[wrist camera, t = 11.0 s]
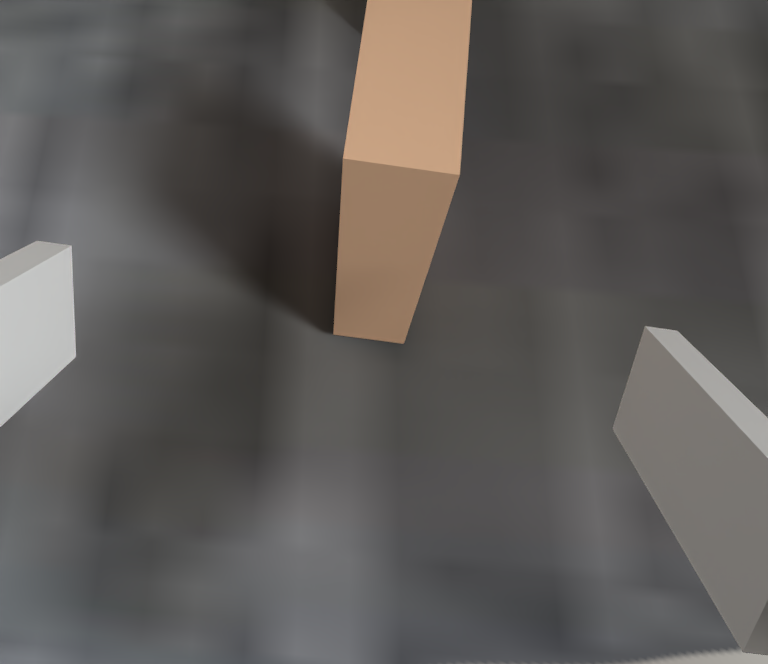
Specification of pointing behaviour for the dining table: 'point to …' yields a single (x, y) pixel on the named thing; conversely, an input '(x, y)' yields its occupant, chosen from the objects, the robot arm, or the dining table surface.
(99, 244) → the dining table surface
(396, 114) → the tan rectangular block
